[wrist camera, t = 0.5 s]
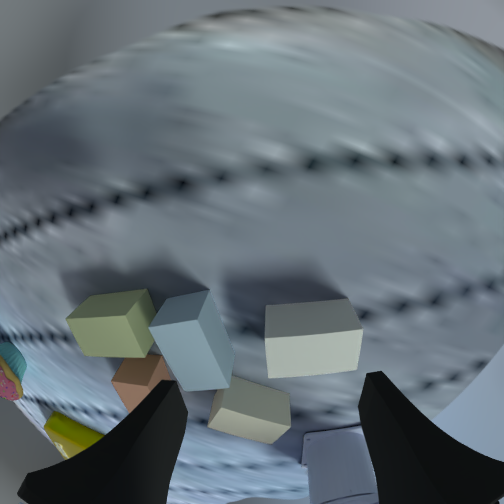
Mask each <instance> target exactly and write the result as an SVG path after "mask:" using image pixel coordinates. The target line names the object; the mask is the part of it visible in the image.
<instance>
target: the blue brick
mask: <svg viewBox="0 0 504 504" xmlns="http://www.w3.org/2000/svg"><path fill="white" fill-rule="evenodd" d="M148 328H149V330H150V332H151V334H152V336H153V338H154V340H155V342H156V343H157V345H158V347H159V349H160V351H161V353H162V354H163V356H164V358H165V360H166V361H167V363H168V365H169V367H170V368H171V370H172V372H173V373H174V375H175V377H176V378H177V380H178V382H179V383H180V385H181V386H182V388H183V390H184V391H185V392H187V391H202V390H213V389H224V388H230V382H231V376H232V370H233V364H234V358H235V352H234V349H233V347H232V344H231V342H230V339H229V337H228V335H227V332H226V330H225V327H224V325H223V322H222V320H221V317H220V314H219V312H218V309H217V307H216V304H215V302H214V299H213V296H212V294H211V291H210V289H209V290H205V291H200V292H195V293H191V294H186V295H181V296H176V297H172V298H167V299H166V301H165V302H164V304H163V305H162V307H161V308H160V310H159V311H158V313H157V314H156V316H155V317H154V319H153V321H152V322H151V324H150V325H149V327H148Z"/></svg>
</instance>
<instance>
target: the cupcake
mask: <svg viewBox="0 0 504 504" xmlns="http://www.w3.org/2000/svg"><path fill="white" fill-rule="evenodd" d="M26 367H27V366H26V362H25V360H24V358H23V356H22V355H21V353H20V352H19V351H18V349H17V348H16V347H15V346H14V345H13V344H11V343H10V342H5V343H2V344H0V397H3V398H4V399H8V400H12V401H14V400H18V399H20V398H21V397H22V396H23V388H22V386H21V382H22V378H23V375H24V372H25V370H26Z"/></svg>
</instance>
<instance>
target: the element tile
mask: <svg viewBox="0 0 504 504" xmlns="http://www.w3.org/2000/svg"><path fill="white" fill-rule="evenodd" d="M44 429H45V431H46V433H47V434H48V436H49V437H50V439H51V440H52V442H53V443H54V445H55V446H56V448H57V449H58V451H59V452H60V453H61V455H62V456H63V457H64V459H65V460H67V459H69V458H71V457H73V456H74V455H76V454H78V453H80V452H81V451H83V450H85V449H86V448H88V447H90V446H91V445H93V444H94V443H96V442H97V441H98V440H100V439H101V438H102V437H104V436H105V435H103V434H100V433H98V432H96V431H94V430H92V429H90V428H88V427H86V426H83V425H81V424H79V423H77V422H76V421H74V420H72V419H70V418H68V417H66V416H64V415H62V414H61V413H59V412H56V411H53V413H52V414H51V416H50V417H49V419H48V420H47V422H46V423H45V425H44Z"/></svg>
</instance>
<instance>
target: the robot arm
mask: <svg viewBox="0 0 504 504" xmlns="http://www.w3.org/2000/svg"><path fill="white" fill-rule="evenodd" d="M358 409H359V415H360V421H361V425H360V426H355V427H349V428H343V429H336V430H329V431H321V432H312V433H306V434H305V435H304V441H303V453H302V464H301V467H302V468H308V481H309V497H310V504H499V501H498V500H499V499H501V498H502V497H504V462H502V461H498V460H495V459H492V458H490V457H488V456H485V455H483V454H480V453H479V452H476V451H474V450H473V449H471V448H469V447H467V446H465V445H464V444H462V443H460V442H458V441H457V440H455V439H454V438H452V437H451V436H449V435H448V434H447V433H445V432H444V431H443V430H441V429H440V428H438V427H437V426H436V425H435V424H434V423H432V422H431V421H430V420H429V419H428V418H427V417H426V416H425V415H424V414H422V413H421V412H420V411H419V410H418V409H417V408H416V407H415V406H414V405H413V404H412V403H411V402H410V401H409V400H408V399H407V398H406V397H405V396H404V395H403V394H402V392H401V391H400V390H399V389H398V388H397V387H396V386H395V385H394V384H393V383H392V382H391V381H390V379H389V378H388V377H387V376H386V375H385V374H384V373H383V372H382V371H377V372H371V373H367V374H366V378H365V382H364V386H363V390H362V394H361V397H360V401H359V404H358ZM187 416H188V411H187V408H186V406H185V403H184V401H183V398H182V395H181V393H180V390H179V387H178V385H177V382H176V381H173V380H161V381H160V382H159V383H158V384H157V385H156V386H155V387H154V388H153V389H152V390H151V392H150V393H149V394H148V395H147V396H146V397H145V398H144V399H143V400H142V401H141V402H140V403H139V404H138V405H137V406H136V407H135V408H134V409H133V410H132V411H131V412H130V413H129V414H128V415H127V416H126V417H125V418H124V419H123V420H122V421H121V422H120V423H119V424H118V425H117V426H116V427H114V428H113V429H112V430H111V431H110V432H109V433H107V434H106V435H105V436H104V437H102V438H101V439H100V440H98V441H97V442H96V443H94V444H93V445H91V446H90V447H88V448H86V449H85V450H83V451H81V452H80V453H78V454H76V455H74V456H73V457H71V458H69V459H67V460H65V461H62V462H60V463H58V464H56V465H53V466H50V467H48V468H44V469H41V470H38V471H35V472H31V473H28V474H27V476H26V477H25V479H24V481H23V483H22V485H21V487H20V489H19V491H18V492H17V494H18V496H19V497H20V498H21V499H23V500H24V501H25V502H27V503H28V504H166V501H167V495H168V489H169V484H170V480H171V476H172V473H173V469H174V466H175V463H176V460H177V457H178V454H179V450H180V447H181V444H182V441H183V437H184V434H185V429H186V423H187ZM369 454H370V455H369ZM370 458H371V459H370ZM371 461H372V463H371ZM372 465H373V467H372ZM373 468H374V472H375V476H376V481H375V476H374V472H373ZM376 482H377V485H376ZM19 504H23V503H22V502H20V503H19Z"/></svg>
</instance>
